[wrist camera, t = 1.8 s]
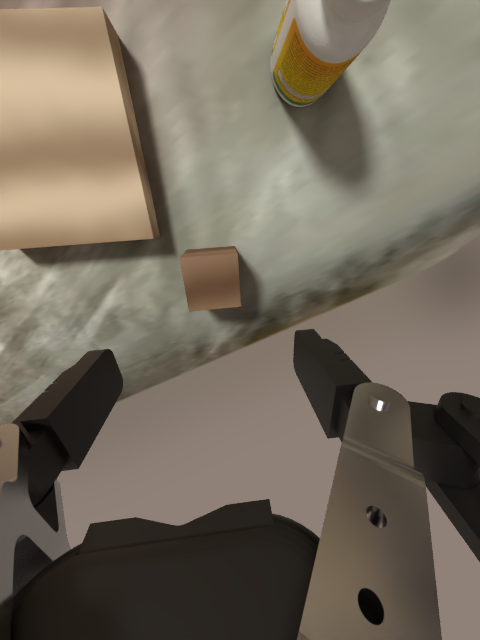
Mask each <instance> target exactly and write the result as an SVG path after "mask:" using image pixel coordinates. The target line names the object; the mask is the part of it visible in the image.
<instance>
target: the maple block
mask: <svg viewBox="0 0 480 640" xmlns="http://www.w3.org/2000/svg"><path fill="white" fill-rule="evenodd" d="M157 237H160V232H159V228H158V223H157V218H156V213H155V209H154V204H153V199H152V194H151V190H150V185H149V180H148V175H147V171H146V166H145V161H144V156H143V151H142V147H141V142H140V137H139V132H138V128H137V123H136V118H135V113H134V109H133V104H132V99H131V94H130V90H129V85H128V80H127V75H126V71H125V66H124V61H123V56H122V51H121V47H120V42H119V37H118V35H117V33H116V31H115V29H114V27H113V26H112V24H111V22H110V20H109V18H108V17H107V15H106V13H105V11H104V10H103V8H102V7H80V8H39V9H0V250H11V249H24V248H37V247H50V246H63V245H77V244H90V243H103V242H116V241H129V240H142V239H154V238H157Z"/></svg>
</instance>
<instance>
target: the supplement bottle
mask: <svg viewBox="0 0 480 640" xmlns="http://www.w3.org/2000/svg"><path fill="white" fill-rule="evenodd" d="M389 3H390V0H287V2H286V5H285V8H284V11H283V14H282V17H281V20H280V23H279V26H278V29H277V32H276V36H275V39H274V43H273V46H272V51H271V60H270V68H271V76H272V80H273V84H274V86H275V88H276V90H277V92H278V94H279V95H280V96H281V97H282V99H283V100H284V101H285V102H287V103H288V104H290V105H292V106H295V107H305V106H309V105H311V104H313V103H314V102H316V101H317V100H318V99H319V98H320V97H321V96H322V95H323V94H324V93H325V92H326V91H327V90H328V89H329V88H330V86H331V85H332V84H333V83H334V82H335V81H336V80H337V79H338V77H339V76H340V75H341V74H342V73H343V72H344V71H345V70H346V68H347V67H348V66H349V65H350V64H351V63H352V62H353V61H354V59H355V58H356V57H357V56H358V55H359V54H360V52H361V51H362V50H363V49H364V48H365V47H366V46H367V45H368V43H369V42H370V41H371V39H372V38H373V37H374V35H375V34H376V32H377V30H378V28H379V27H380V25H381V23H382V21H383V19H384V16H385V14H386V12H387V9H388V6H389Z"/></svg>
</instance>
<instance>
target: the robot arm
mask: <svg viewBox="0 0 480 640" xmlns="http://www.w3.org/2000/svg"><path fill="white" fill-rule="evenodd" d="M293 359H294V360H293V362H294V368H295V372H296V375H297V376H298V379H299V381H300V383H301V385H302V387H303V389H304V391H305V393H306V395H307V397H308V399H309V401H310V403H311V405H312V407H313V409H314V411H315V413H316V415H317V417H318V419H319V421H320V424H321V426H322V428H323V430H324V432H325V434H326V436H327V438H336V437H339V438H340V440H341V442H342V445H341V449H340V453H339V457H338V462H337V466H336V471H335V475H334V480H333V484H332V488H331V493H330V497H329V502H328V506H327V510H326V514H325V519H324V523H323V528H322V532H321V537H320V538H319V537H318V536H317V535H315V534H314V533H313V532H312V531H310V530H309V529H307V528H306V527H304V526H303V525H301V524H299V523H297V522H295V521H294V520H292V519H289V518H286V517H284V516H281V515H276V514H272V512H271V507H270V500H269V499H266V500H259V501H251V502H244V503H237V504H230V505H226V506H223V507H221V508H219V509H217V510H215V511H212V512H210V513H208V514H206V515H204V516H202V517H199V518H197V519H195V520H193V521H191V522H189V523H187V524H184V525H181V526H174V525H169V524H165V523H160V522H155V521H150V520H146V519H141V518H136V517H135V518H128V519H121V520H114V521H106V522H100V523H92V524H90V526H89V528H88V531H87V533H86V536H85V538H84V540H83V543H82V544H80V545H78V546H76V547H74V548H73V549H71V548H70V546H69V543H68V539H67V534H66V527H65V519H64V511H63V503H62V496H61V488H60V483H59V482H58V480H57V477H58V475H59V474H60V472H61V471H64V470H72V469H78V468H79V467H80V465H81V463H82V462H83V460H84V458H85V456H86V455H87V453H88V451H89V449H90V447H91V445H92V444H93V442H94V440H95V438H96V436H97V435H98V433H99V431H100V430H101V428H102V426H103V424H104V422H105V421H106V419H107V417H108V415H109V413H110V412H111V410H112V408H113V406H114V405H115V403H116V401H117V399H118V397H119V396H120V394H121V392H122V389H123V378H122V375H121V373H120V370H119V367H118V365H117V362H116V359H115V357H114V354H113V352H112V351H111V350H109V349H104V350H94V351H89V352H87V353H86V354H85V355H84V356H83V357H82V358H81V359H80V360H79V361H78V362H77V363H76V364H75V365H74V366H72V367H71V368H69V369H68V370H66V371H64V372H63V373H62V374H61V375H60V376H59V377H58V378H57V379H56V380H55V381H54V382H53V384H51V385H50V386H49V387H48V388H47V389H46V390H45V392H44V393H42V394H41V395H40V396H39V397H38V398H37V399H36V400H35V401H34V402H33V403H32V404H31V405H30V406H29V407H27V408H26V409H25V410H24V411H23V412H22V413H21V414H20V415H19V416H18V417H17V418H16V419H15V420H14V421H13V422H12V423H11V424H3V425H0V640H442V637H441V629H440V628H441V627H440V619H439V609H438V599H437V589H436V580H435V571H434V561H433V551H432V543H431V532H430V523H429V513H428V504H427V495H426V487H427V488H428V490H429V491H430V493H431V494H432V495H433V497H434V498H435V500H436V501H437V502H438V504H439V505H440V506H441V508H442V509H443V511H444V512H445V514H446V515H447V516H448V518H449V519H450V521H451V522H452V523H453V525H454V526H455V528H456V529H457V531H458V532H459V533H460V535H461V536H462V537H463V539H464V540H465V542H466V543H467V545H468V546H469V548H470V549H471V550H472V552H473V553H474V554H475V556H476V557H477V559H478V560H479V562H480V398H478V397H475V396H472V395H468V394H464V393H456V392H450V393H446V394H444V395H442V396H441V398H440V400H439V403H438V405H432V404H424V403H417V402H409V401H407V400H406V399H405V398H404V397H403V396H402V395H401V394H400V393H398V392H397V391H396V390H394V389H392V388H390V387H388V386H385V385H382V384H378V383H372V382H371V381H370V379H369V378H368V377H367V376H366V375H365V374H364V373H363V372H362V371H361V370H360V369H359V368H358V367H357V365H356V364H355V363H354V362H353V361H352V360H350V358H349V357H348V356H347V355H346V354H344V351H343V350H342V349H341V348H340V347H339V346H338V345H337V344H335V343H333V342H331V341H330V340H328V339H322V338H321V337H320V336H319V335H318V333H317V332H316V331H315V330H314V329H308V330H298V331H296V332H295V338H294V358H293Z"/></svg>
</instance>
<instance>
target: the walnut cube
mask: <svg viewBox="0 0 480 640" xmlns="http://www.w3.org/2000/svg"><path fill="white" fill-rule="evenodd" d="M180 263H181V268H182V274H183V280H184V285H185V291H186V297H187V302H188V308H189V311H199V310H210V309H222V308H233V307H241V296H240V281H239V265H238V253H237V251H236V249H235V246H230V247H217V248H204V249H190V250H187V251H186V252H185V253H184V254H183V255H182V256H181V257H180Z"/></svg>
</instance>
